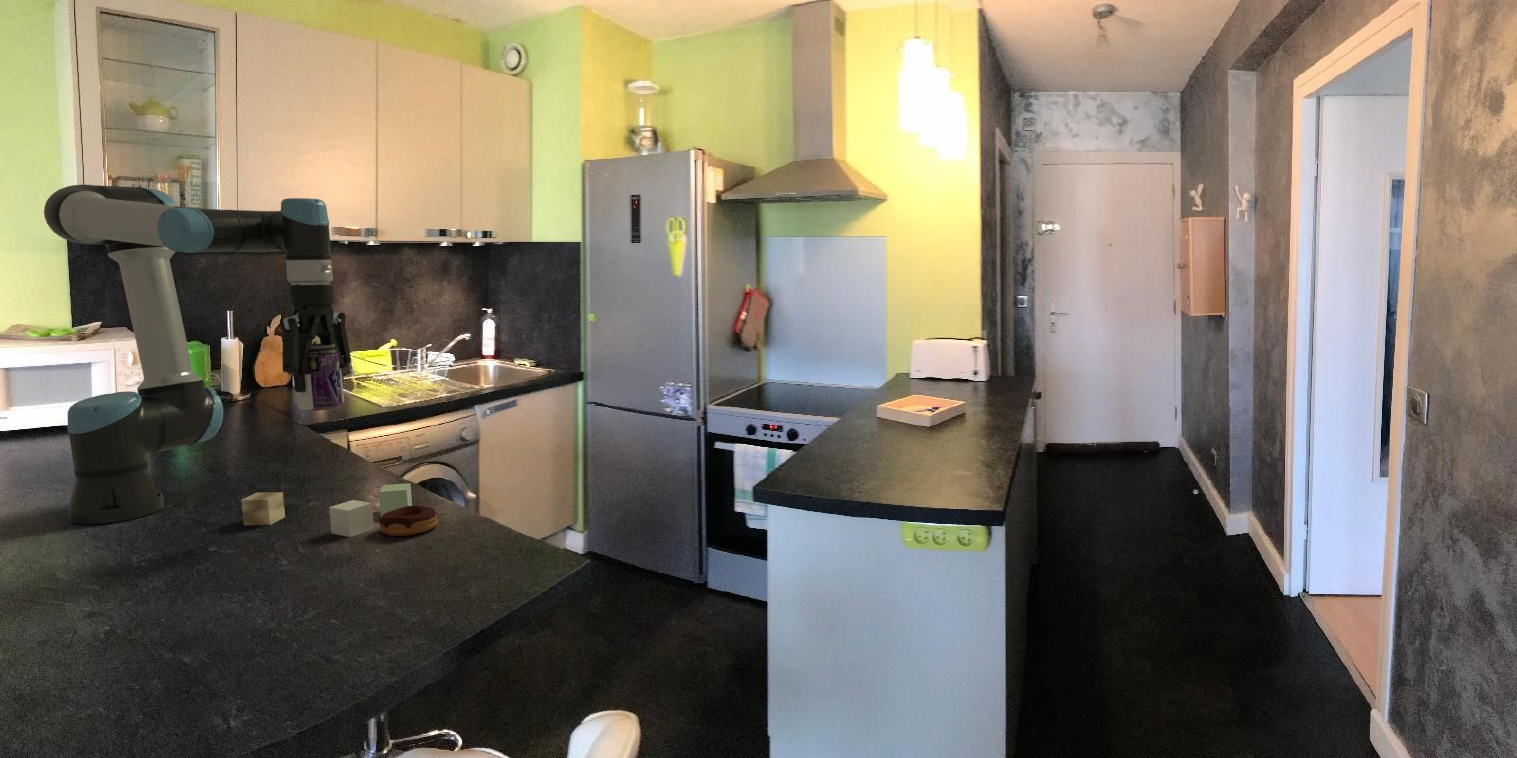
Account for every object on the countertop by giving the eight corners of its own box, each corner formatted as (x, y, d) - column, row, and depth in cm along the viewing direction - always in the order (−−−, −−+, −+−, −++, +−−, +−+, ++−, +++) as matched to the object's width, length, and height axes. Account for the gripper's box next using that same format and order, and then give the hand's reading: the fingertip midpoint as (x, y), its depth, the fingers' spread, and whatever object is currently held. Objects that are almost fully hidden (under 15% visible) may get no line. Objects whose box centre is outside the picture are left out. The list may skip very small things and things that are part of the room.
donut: (425, 518, 165) (423, 498, 164) (448, 530, 158) (446, 509, 157) (371, 531, 158) (369, 510, 157) (392, 543, 151) (391, 521, 150)
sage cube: (380, 517, 166) (378, 492, 165) (385, 509, 171) (383, 485, 170) (408, 514, 167) (406, 490, 166) (412, 507, 172) (410, 483, 171)
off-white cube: (331, 533, 156) (329, 507, 155) (355, 525, 161) (352, 500, 160) (350, 537, 154) (348, 510, 153) (373, 529, 158) (371, 503, 158)
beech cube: (244, 525, 161) (241, 500, 161) (259, 517, 166) (257, 492, 166) (270, 525, 161) (267, 499, 161) (285, 517, 166) (282, 492, 166)
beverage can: (325, 412, 158) (320, 347, 157) (292, 411, 160) (286, 347, 158) (351, 405, 165) (346, 343, 163) (318, 404, 167) (313, 343, 165)
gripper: (284, 285, 148) (296, 416, 152) (366, 281, 167) (375, 397, 171) (249, 285, 150) (262, 414, 154) (334, 281, 169) (343, 395, 173)
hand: (321, 405), depth 162 cm, fingers closed on beverage can, 7 cm apart
